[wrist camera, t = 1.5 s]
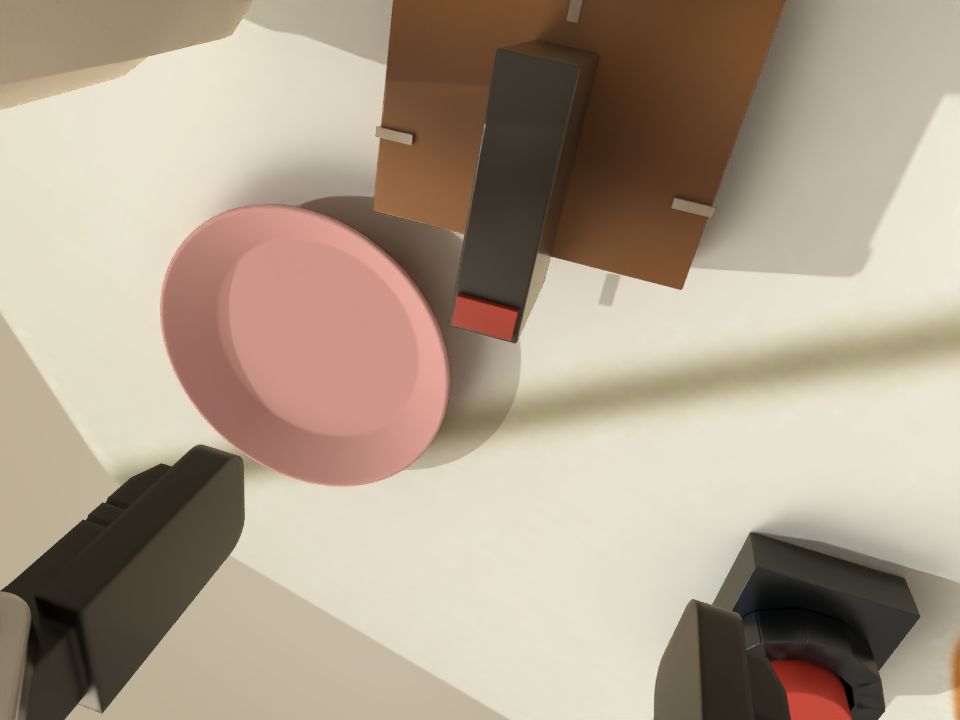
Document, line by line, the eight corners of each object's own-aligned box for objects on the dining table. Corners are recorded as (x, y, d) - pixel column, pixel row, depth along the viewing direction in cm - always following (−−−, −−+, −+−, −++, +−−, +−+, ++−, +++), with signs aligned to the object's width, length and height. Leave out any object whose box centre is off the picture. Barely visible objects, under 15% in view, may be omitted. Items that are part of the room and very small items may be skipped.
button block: (749, 531, 31) (760, 596, 28) (905, 578, 30) (936, 651, 27) (680, 664, 36) (682, 733, 32) (812, 708, 35) (827, 783, 32)
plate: (307, 497, 37) (289, 521, 35) (132, 286, 33) (103, 301, 32) (519, 402, 31) (510, 425, 29) (334, 128, 27) (311, 136, 25)
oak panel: (424, -90, 23) (397, -101, 20) (785, -20, 21) (799, -24, 19) (385, 263, 29) (361, 284, 27) (659, 336, 28) (658, 366, 25)
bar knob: (533, 39, 21) (493, 47, 16) (600, 53, 21) (580, 66, 16) (489, 267, 25) (446, 329, 20) (544, 281, 25) (514, 348, 20)
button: (767, 646, 29) (772, 680, 28) (860, 675, 29) (871, 712, 27) (734, 700, 31) (737, 735, 30) (821, 728, 31) (828, 766, 29)
